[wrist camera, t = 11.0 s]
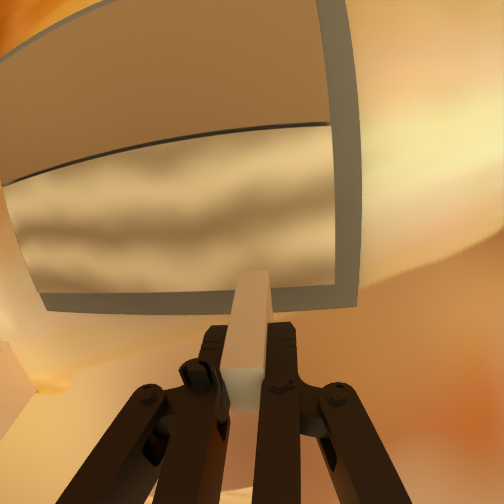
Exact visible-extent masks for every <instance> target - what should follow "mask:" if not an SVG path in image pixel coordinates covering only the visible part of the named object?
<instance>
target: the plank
mask: <svg viewBox="0 0 504 504" xmlns="http://www.w3.org/2000/svg"><path fill="white" fill-rule="evenodd" d="M2 190H3V194H4V198H5V202H6V205H7V209H8V212H9V216H10V219H11V222H12V225H13V229H14V232H15V235H16V238H17V241H18V243H19V246H20V249H21V252H22V255H23V257H24V260H25V262H26V265H27V268H28V270H29V273H30V275H31V277H32V280H33V282H34V285H35V287H36V289H37V292H38V293H152V292H192V291H220V290H236V285H237V280H238V276H239V272H244V271H260V270H269V280H270V288H282V287H299V286H315V285H329V284H335V191H334V165H333V146H332V131H331V126H330V125H327V124H323V125H301V126H286V127H273V128H261V129H251V130H242V131H233V132H225V133H217V134H210V135H203V136H197V137H190V138H184V139H178V140H172V141H167V142H161V143H156V144H151V145H146V146H141V147H136V148H132V149H127V150H123V151H118V152H114V153H110V154H106V155H102V156H98V157H94V158H90V159H86V160H83V161H79V162H75V163H72V164H68V165H65V166H61V167H58V168H55V169H52V170H48V171H45V172H42V173H39V174H36V175H33V176H30V177H27V178H24V179H21V180H18V181H15V182H13V183H11V184H9V185H7V186H4V187H2Z"/></svg>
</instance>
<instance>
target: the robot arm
mask: <svg viewBox="0 0 504 504" xmlns="http://www.w3.org/2000/svg"><path fill="white" fill-rule="evenodd" d="M272 317H273V311H272V300H271V290H270V280H269V270H260V271H244V272H239V276H238V280H237V285H236V290H235V295H234V300H233V305H232V309H231V314H230V319H229V324H228V325H213V326H211V327H210V328H209V329H208V330H207V331H206V333H205V335H204V338H203V343H202V345H201V350H200V353H199V356H198V358H194V359H191V360H188V361H186V362H185V363H184V364H183V365H182V366H181V367H180V369H179V373H180V375H181V378H182V380H183V382H184V385H182V386H180V387H177V388H173V389H168V390H162V388H161V387H160V386H158V385H156V384H146V385H143V386H141V387H139V388H138V389H137V390H136V391H135V392H134V393H133V394H132V396H131V397H130V398H129V400H128V401H127V403H126V404H125V405H124V407H123V408H122V410H121V411H120V412H119V414H118V415H117V417H116V418H115V419H114V421H113V422H112V424H111V425H110V426H109V428H108V429H107V431H106V432H105V433H104V435H103V436H102V438H101V439H100V441H99V442H98V443H97V445H96V446H95V448H94V449H93V450H92V452H91V453H90V455H89V456H88V457H87V459H86V460H85V462H84V463H83V465H82V466H81V467H80V469H79V470H78V472H77V473H76V475H75V476H74V477H73V479H72V480H71V482H70V483H69V485H68V486H67V487H66V489H65V490H64V492H63V493H62V495H61V496H60V498H59V499H58V500H57V502H56V503H55V504H144V502H145V501H146V499H147V497H148V495H149V494H150V492H151V490H152V488H153V486H154V485H155V483H156V482H157V480H158V483H157V486H156V491H155V494H154V498H153V502H152V504H219V500H220V493H221V486H222V479H223V472H224V465H225V458H226V451H227V443H228V436H229V429H230V417H229V409H230V406H231V410H232V411H259V421H258V434H257V446H256V458H255V470H254V481H253V493H252V503H251V504H301V479H300V478H301V472H300V471H301V469H300V468H301V466H300V464H301V462H300V434H302V435H307V436H312V437H316V439H317V442H318V444H319V447H320V450H321V452H322V455H323V458H324V461H325V463H326V466H327V469H328V471H329V474H330V477H331V480H332V482H333V485H334V488H335V490H336V493H337V496H338V498H339V501H340V504H412V502H411V500H410V498H409V496H408V494H407V492H406V490H405V488H404V486H403V483H402V481H401V479H400V477H399V476H398V473H397V471H396V469H395V467H394V466H393V463H392V461H391V459H390V457H389V455H388V453H387V452H386V450H385V448H384V446H383V443H382V442H381V440H380V438H379V436H378V434H377V432H376V430H375V428H374V426H373V424H372V422H371V420H370V418H369V416H368V414H367V412H366V411H365V408H364V407H363V405H362V403H361V401H360V399H359V397H358V395H357V393H356V391H355V390H354V389H353V388H352V387H351V386H350V385H348V384H346V383H341V382H336V383H330V384H328V385H326V386H324V387H323V388H318V387H314V386H310V385H308V384H306V383H304V382H303V381H302V380H301V379H300V377H299V375H298V368H297V347H296V329H295V328H294V327H293V325H292V323H291V322H277V323H272ZM158 478H159V479H158Z"/></svg>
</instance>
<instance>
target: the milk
mask: <svg viewBox="0 0 504 504" xmlns="http://www.w3.org/2000/svg"><path fill="white" fill-rule="evenodd" d="M36 391H37V388H36V386H35V385H34V383H33V382H32V380H31V379H30V377H29V376H28V374H27V372H26V371H25V369H24V368H23V366H22V364H21V363H20V361H19V359H18V358H17V356H16V354H15V353H14V351H13V349H12V347H11V346H10V344H9V342H7V341H4V340H1V339H0V442H1V440H2V439H3V437H4V436H5V434H6V433H7V431H8V430H9V428H10V427H11V425H12V424H13V423H14V421H15V420H16V418H17V417H18V415H19V414H20V413H21V411H22V410H23V408H24V407H25V406H26V404H27V403H28V402H29V400H30V399H31V397H32V396H33V395H34V393H35V392H36Z"/></svg>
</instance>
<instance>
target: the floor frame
mask: <svg viewBox="0 0 504 504" xmlns="http://www.w3.org/2000/svg"><path fill="white" fill-rule="evenodd" d="M323 124H327V125H330V126H331V131H332V146H333V165H334V191H335V284H329V285H315V286H299V287H282V288H270V290H271V300H272V311H273V312H290V311H307V310H322V309H335V308H348V307H356V306H357V296H358V283H359V268H360V249H361V218H362V170H361V139H360V121H359V107H358V94H357V83H356V74H355V65H354V56H353V49H352V41H351V35H350V28H349V22H348V16H347V10H346V4H345V0H103V1H100V2H98V3H96V4H93V5H91V6H89V7H87V8H85V9H83V10H80V11H78V12H76V13H74V14H72V15H70V16H68V17H66V18H65V19H63V20H61V21H59V22H57V23H55V24H53V25H52V26H50V27H48V28H46V29H45V30H43V31H41V32H39V33H38V34H36V35H34V36H33V37H31V38H30V39H28V40H26V41H25V42H23V43H22V44H20V45H19V46H17V47H16V48H14V49H13V50H11V51H10V52H9V53H7V54H6V55H4V56H3V57H2V58H0V179H1V183H2V186H3V187H4V186H7V185H9V184H11V183H13V182H15V181H18V180H21V179H24V178H27V177H30V176H33V175H36V174H39V173H42V172H45V171H48V170H52V169H55V168H58V167H61V166H65V165H68V164H72V163H75V162H79V161H83V160H86V159H90V158H94V157H98V156H102V155H106V154H110V153H114V152H118V151H123V150H127V149H132V148H136V147H141V146H146V145H151V144H156V143H161V142H167V141H172V140H178V139H184V138H190V137H197V136H203V135H210V134H217V133H225V132H233V131H242V130H251V129H261V128H273V127H286V126H301V125H323ZM39 294H40V296H41V298H42V301H43V303H44V305H45V307H46V309H47V311H57V312H76V313H98V314H135V315H209V314H231V309H232V305H233V300H234V295H235V290H220V291H192V292H152V293H39Z"/></svg>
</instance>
